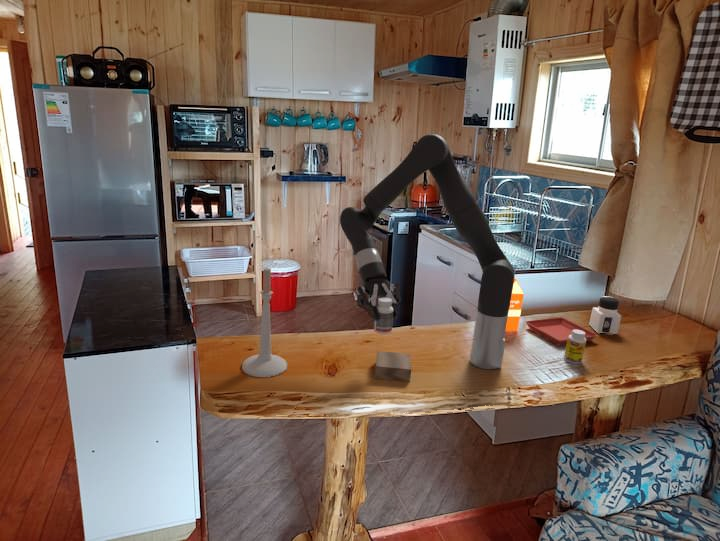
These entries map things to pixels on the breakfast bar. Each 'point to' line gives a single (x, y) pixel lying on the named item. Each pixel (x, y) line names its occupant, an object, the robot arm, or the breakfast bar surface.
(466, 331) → the breakfast bar surface
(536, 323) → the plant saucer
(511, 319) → the orange juice
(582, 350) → the supplement bottle
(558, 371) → the breakfast bar surface
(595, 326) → the container
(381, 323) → the pill bottle
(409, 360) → the walnut base
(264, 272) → the grey pole stand
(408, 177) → the robot arm
